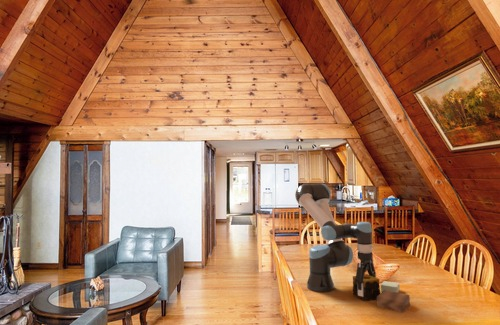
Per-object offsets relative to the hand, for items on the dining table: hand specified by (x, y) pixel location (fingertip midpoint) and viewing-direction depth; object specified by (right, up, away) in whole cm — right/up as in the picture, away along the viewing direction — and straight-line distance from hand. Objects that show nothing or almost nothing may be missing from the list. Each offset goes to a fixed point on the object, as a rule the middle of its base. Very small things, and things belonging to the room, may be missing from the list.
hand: (366, 292), depth 175 cm
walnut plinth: (+9, -2, -13) cm, 16 cm away
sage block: (+16, -3, +8) cm, 18 cm away
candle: (0, -2, 0) cm, 2 cm away
